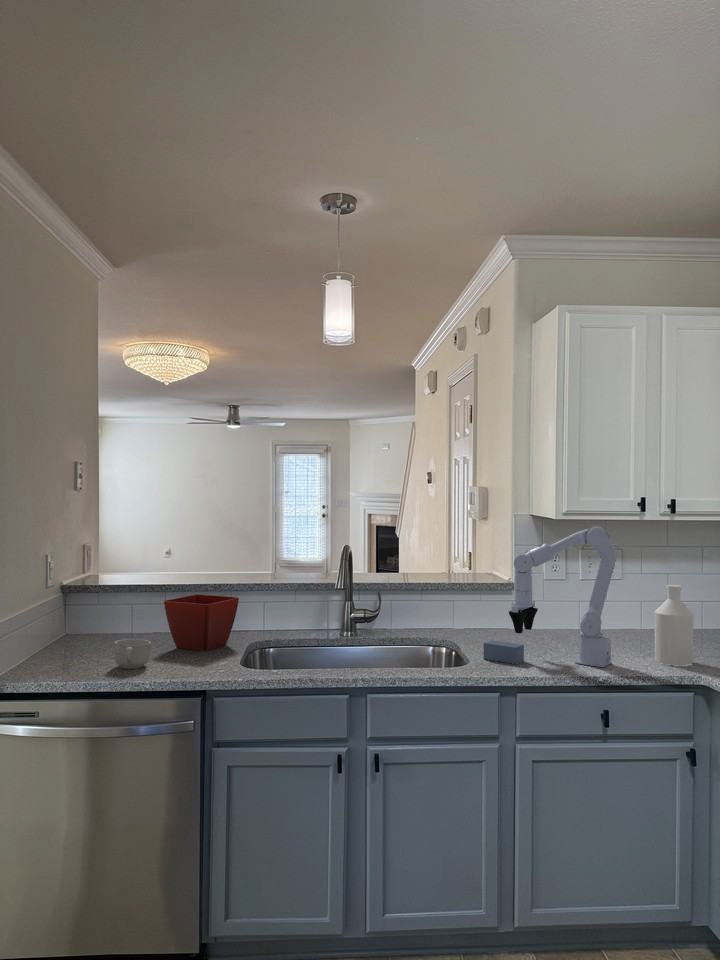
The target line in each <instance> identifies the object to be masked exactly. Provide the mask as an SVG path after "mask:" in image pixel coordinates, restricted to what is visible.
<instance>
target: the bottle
mask: <svg viewBox="0 0 720 960" xmlns="http://www.w3.org/2000/svg"><path fill="white" fill-rule="evenodd" d="M666 591H667V595H666V596H667V599H665V601H664V602H662V604H661V605H660V606H658V607H657V608H656V609H655V610H654V613H653V614H654V616H653V617H654V619H653V621H654V662H655V661H657V662H659V663H663V664H670V665H686V664H691V663H692V662H693V658H694V652H693V651H694V620H695V619H694V617H695V615H694V612H692V611H691V610H690V609H689V608H688V606H687V605H686V604H684V602H683V601H682V600H681V591H682V585H679V584H666ZM657 662H656V663H657ZM659 663H658V664H659ZM663 664H662V665H663Z"/></svg>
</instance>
